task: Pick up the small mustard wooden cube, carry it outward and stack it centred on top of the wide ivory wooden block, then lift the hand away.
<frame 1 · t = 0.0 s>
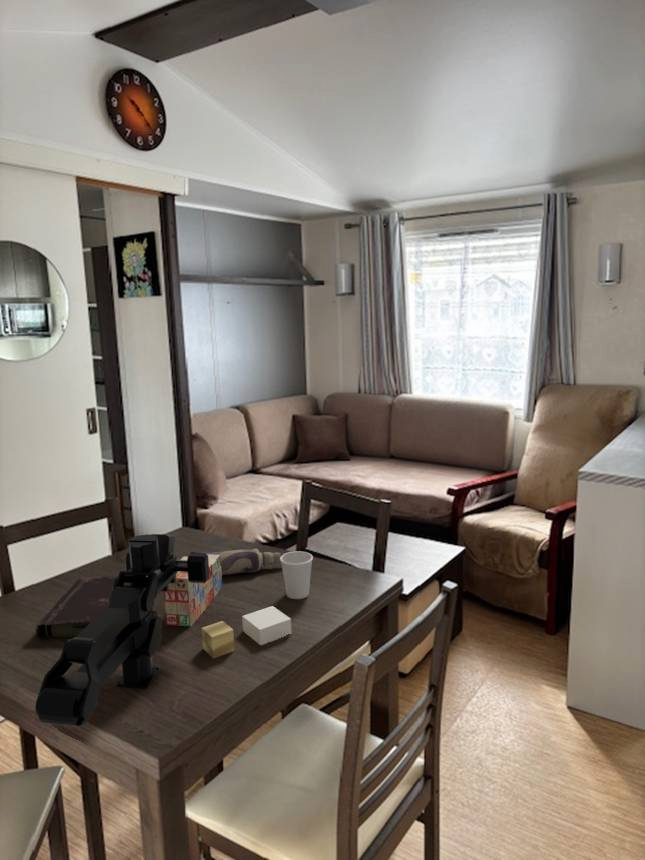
hand: (181, 552, 149), 17 cm above the table, tool horizontal, fingers open, 9 cm apart
mustard cube: (218, 650, 138), on the table
decorative bottle: (238, 574, 177), on the table
dixie cup: (297, 594, 163), on the table
stack of blocks: (196, 606, 159), on the table
diary: (96, 615, 156), on the table
ivory block: (267, 633, 144), on the table
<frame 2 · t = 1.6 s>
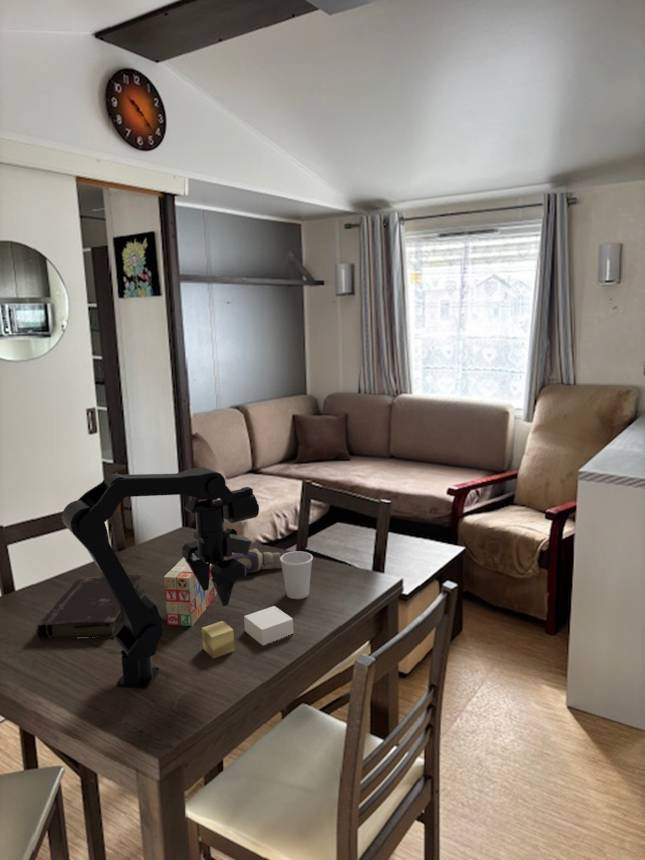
hand: (215, 597, 135), 12 cm above the table, tool pointing down, fingers open, 9 cm apart
nothing on the table moved.
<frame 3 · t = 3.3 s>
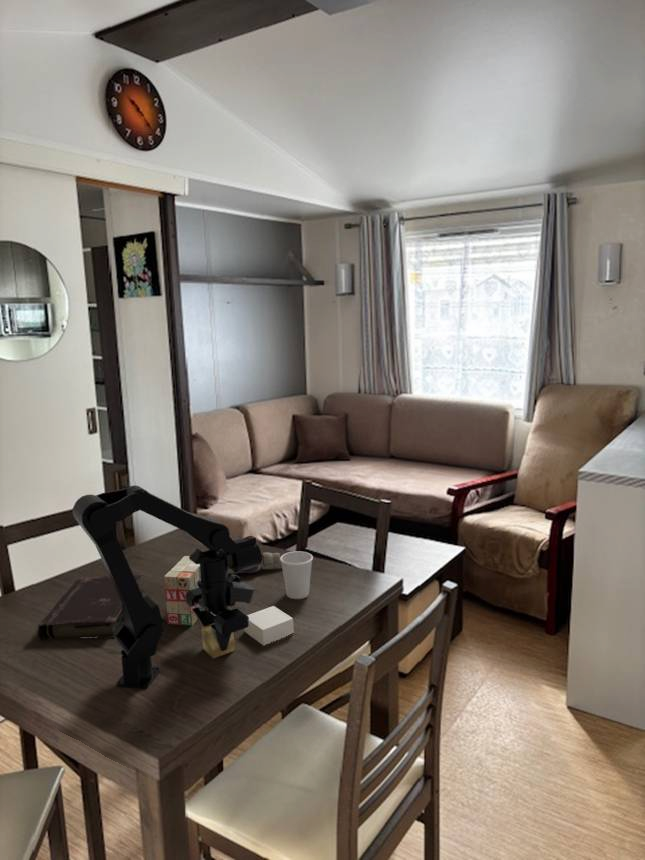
hand: (218, 645, 137), 1 cm above the table, tool pointing down, fingers closed on mustard cube, 5 cm apart
mustard cube: (218, 649, 138), on the table, touching gripper
everything else where it was.
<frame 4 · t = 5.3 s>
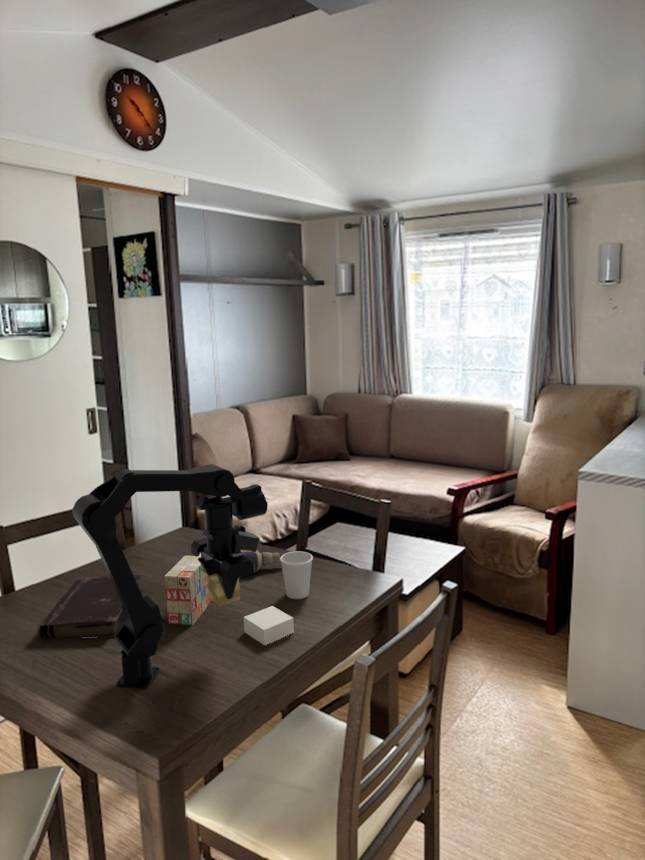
hand: (224, 594, 136), 12 cm above the table, tool pointing down, fingers closed on mustard cube, 5 cm apart
mustard cube: (224, 598, 137), point 11 cm above the table, touching gripper
everything else where it was.
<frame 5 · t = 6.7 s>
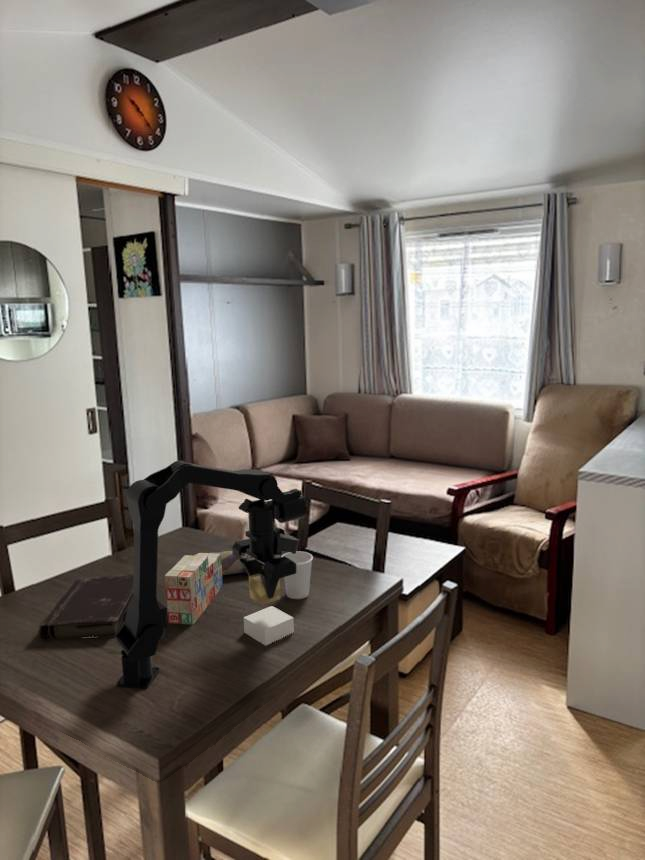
hand: (264, 593, 143), 9 cm above the table, tool pointing down, fingers closed on mustard cube, 5 cm apart
mustard cube: (264, 597, 143), point 8 cm above the table, touching gripper
everything else where it was.
when the fingers open (6 cm above the table, at t = 7.7 s): mustard cube drops 2 cm, resting on ivory block.
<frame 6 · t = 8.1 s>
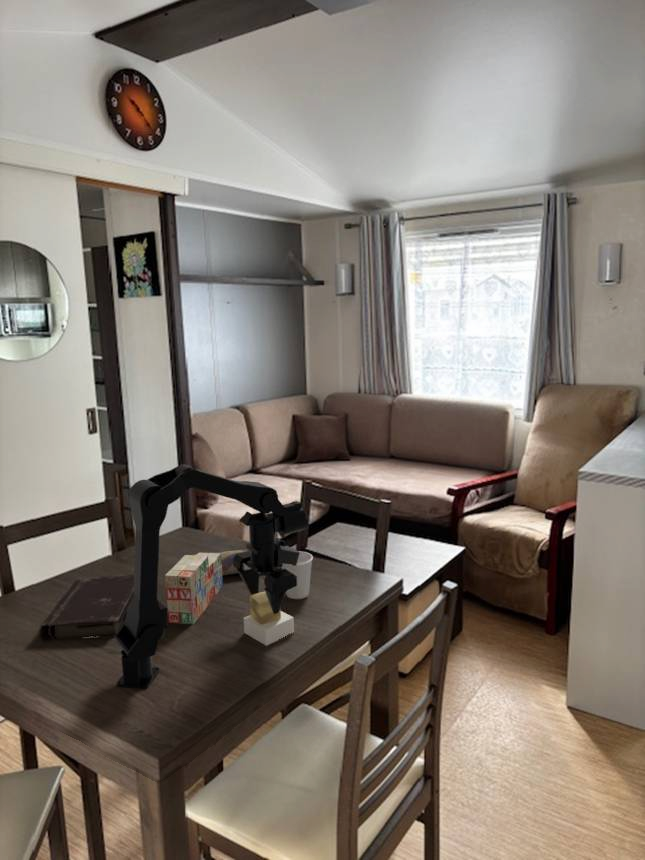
hand: (265, 605, 143), 6 cm above the table, tool pointing down, fingers open, 9 cm apart
mustard cube: (265, 617, 144), point 4 cm above the table, touching ivory block
ivory block: (269, 633, 144), on the table, touching mustard cube
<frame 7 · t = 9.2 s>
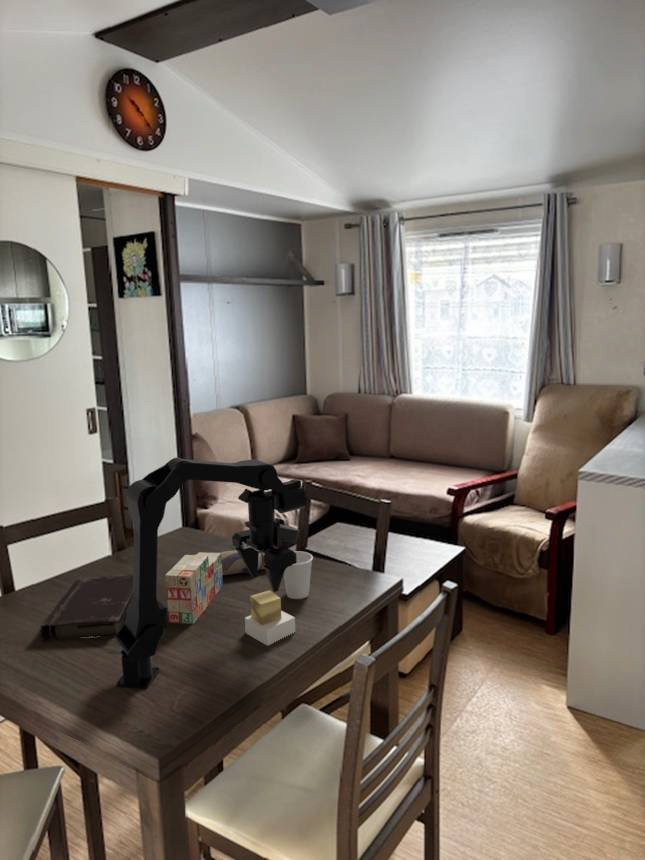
hand: (264, 584, 142), 12 cm above the table, tool pointing down, fingers open, 9 cm apart
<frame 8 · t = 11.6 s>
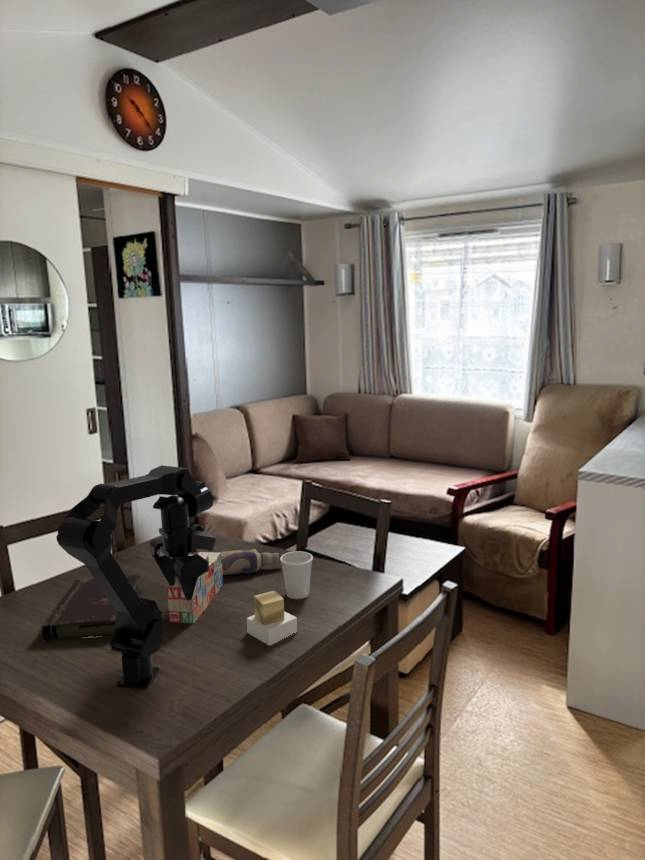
hand: (180, 592, 138), 12 cm above the table, tool pointing down, fingers open, 9 cm apart
at the end: mustard cube 0.4 cm off-centre on the ivory block, point 4.0 cm above the ivory block's base; mustard cube tilted 0°; the gripper is holding nothing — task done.
